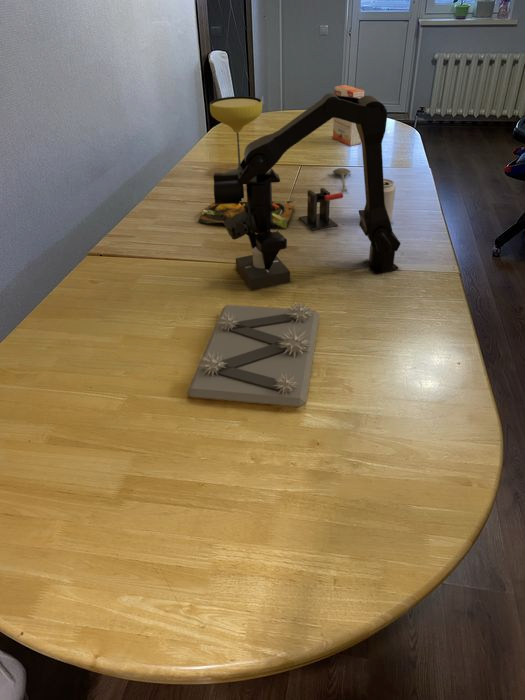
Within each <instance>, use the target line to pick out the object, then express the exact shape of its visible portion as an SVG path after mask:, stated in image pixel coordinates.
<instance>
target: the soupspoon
mask: <svg viewBox="0 0 525 700" xmlns="http://www.w3.org/2000/svg"><path fill="white" fill-rule="evenodd" d="M351 172H352V171H351V170H349V169H348V168H346V167H339V168H335V169H334V170H333V171H332V173H334V174H337V175H339V176H340V177H341V180H342V189H341V193H347V192H348V189H347V188H346V187H347V185H346V179H345V176H347V175H349V174H350V173H351Z"/></svg>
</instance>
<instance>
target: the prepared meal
mask: <svg viewBox="0 0 525 700" xmlns="http://www.w3.org/2000/svg"><path fill="white" fill-rule="evenodd" d="M293 202H294V201H293V200H291V201H290V200H289V201H288V200H286V201H285V200H272V205H273V206H275V211H274V212H272V219H273V222H274V223H275V226H277V227H280V228H283V229H285V230H287V228H288V222H289V220H290V218H291V217H292V215H293V212H294V210H295V208H296V207H297V206H296V205H295V204H291V203H293ZM245 204H247V201H243V200H242V201H239V203H235V204H219V205H215V202H212V203H211V204H210V205H208V206H206V207H205V208H204V209H203V210H202V212H201V213H200V215H199V217H198V223H203V224H224V221H226V220H227V219H229V218H231V217H233V216H234V215H236V214H238V213H240V212H243V211H244V206H245Z"/></svg>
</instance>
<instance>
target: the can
mask: <svg viewBox="0 0 525 700" xmlns="http://www.w3.org/2000/svg"><path fill="white" fill-rule="evenodd" d="M383 181H384V201H385V207H386V210H387V213H388V216H389V219H390V222H392V220H393V213H394V203H395V196H396V186H395V185H394V184H395V183H394V180H392V179H390V178H383Z"/></svg>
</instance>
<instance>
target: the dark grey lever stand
mask: <svg viewBox="0 0 525 700" xmlns="http://www.w3.org/2000/svg"><path fill="white" fill-rule="evenodd" d="M319 193H324V195H331V192H330V191H329V190H327V189H326V188H324V187H320V190H319ZM330 202H331V200H329V201H325V199H324V201H323V202H319V213H318V202H317V193H315V192H314V191H313V190H311V189H309V190H307V206H306V207H307V211H306V212H307V213H306V215H303V216H299V217H298V220H299V221H300V222H302V223H303V224H304V225H305V226H306V227H307V228H308V229H309V230H311V232H316V231H320V230H321V231H322V230H326V229H331V228H337V227H338V226H339V225H338V224H337V223H336V222H335V221H334V220H333V219H332V218H331V217H330V204H331V203H330Z"/></svg>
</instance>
